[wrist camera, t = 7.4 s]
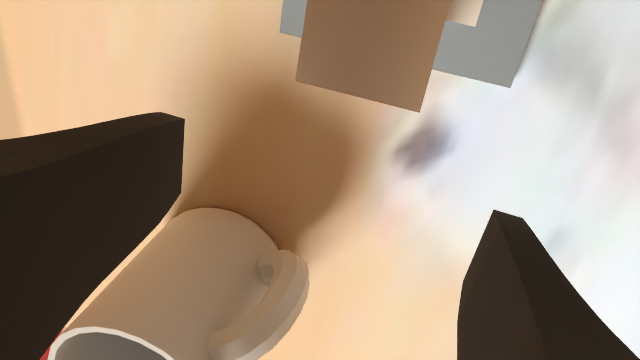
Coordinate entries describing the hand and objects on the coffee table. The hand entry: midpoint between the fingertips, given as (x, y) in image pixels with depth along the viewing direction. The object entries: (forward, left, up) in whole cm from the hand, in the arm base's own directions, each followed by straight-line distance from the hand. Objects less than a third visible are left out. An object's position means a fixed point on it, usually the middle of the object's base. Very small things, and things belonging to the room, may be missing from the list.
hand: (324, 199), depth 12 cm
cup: (+5, +11, -11) cm, 16 cm away
